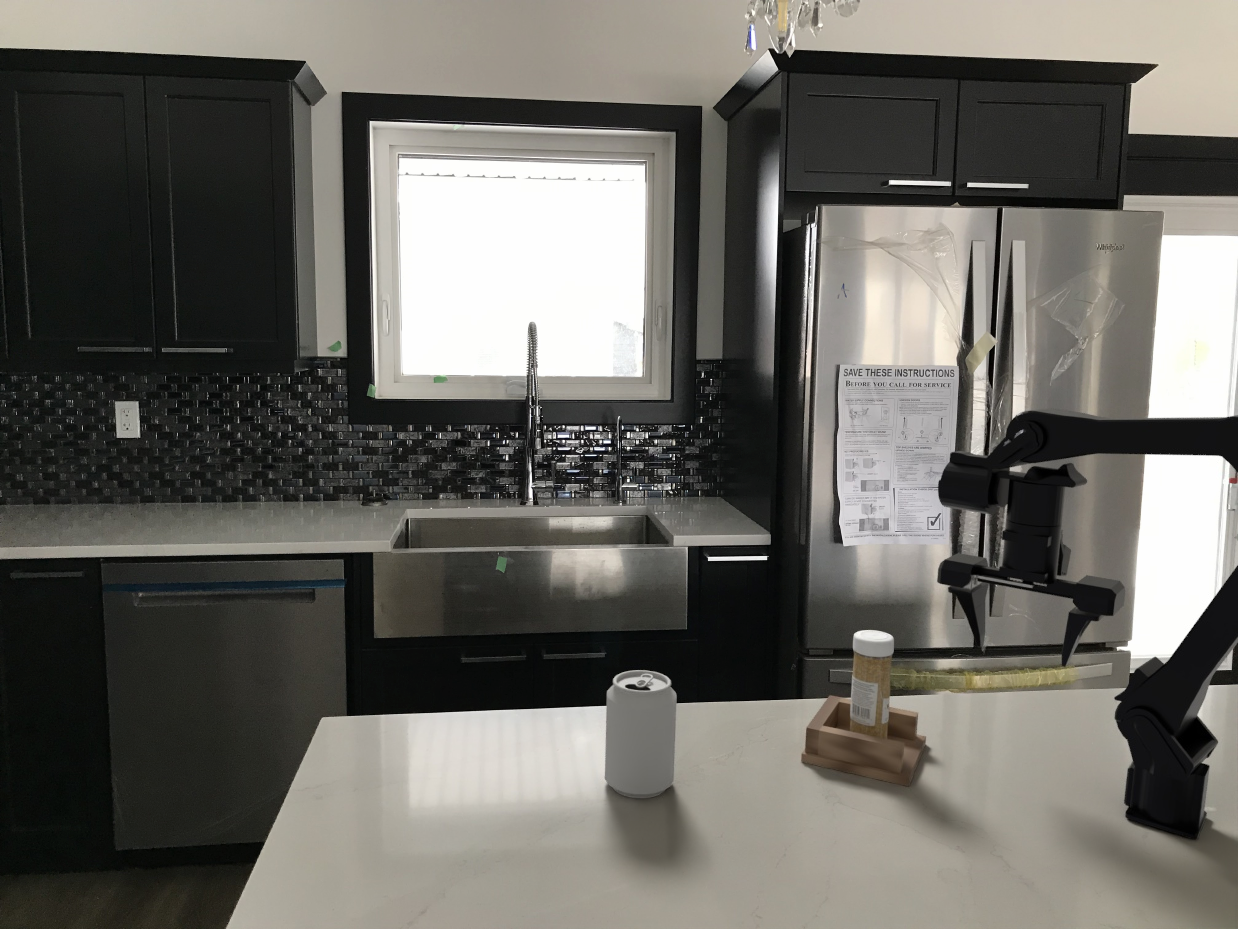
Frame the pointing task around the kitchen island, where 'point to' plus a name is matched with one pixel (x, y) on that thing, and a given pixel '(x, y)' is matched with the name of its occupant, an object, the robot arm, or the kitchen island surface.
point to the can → (640, 734)
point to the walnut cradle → (864, 744)
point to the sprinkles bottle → (871, 682)
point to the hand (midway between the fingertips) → (1021, 655)
